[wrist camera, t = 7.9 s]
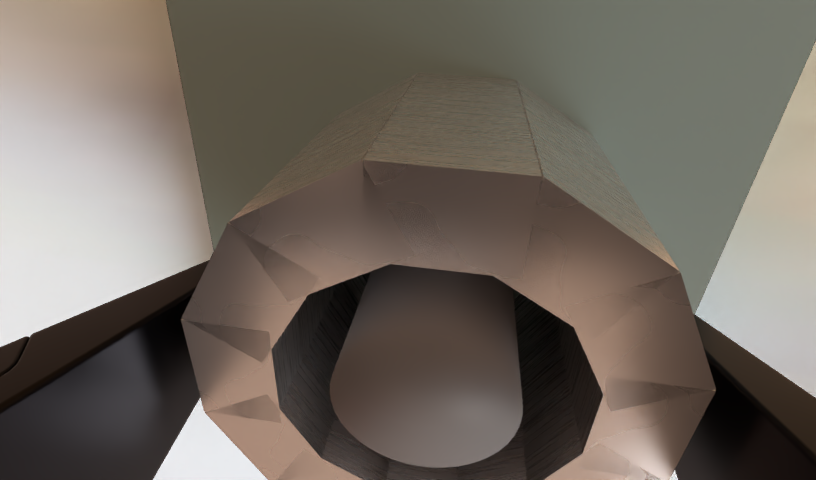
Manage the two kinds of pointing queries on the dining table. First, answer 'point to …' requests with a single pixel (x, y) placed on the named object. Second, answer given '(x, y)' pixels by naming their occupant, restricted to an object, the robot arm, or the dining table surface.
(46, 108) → the dining table surface
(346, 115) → the tan faceted hollow ring
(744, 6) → the post stand
